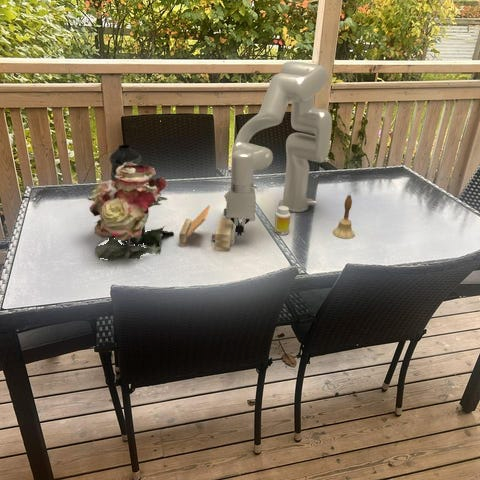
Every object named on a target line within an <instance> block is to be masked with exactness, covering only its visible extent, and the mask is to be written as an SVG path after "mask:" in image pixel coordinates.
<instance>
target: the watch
mask: <svg viewBox="0 0 480 480" xmlns="http://www.w3.org/2000/svg"><path fill="white" fill-rule="evenodd" d="M227 195H228V191H226V192H225V193H224V195H223V197H224V199H225V201H226V202H227ZM225 216H226V208H223V217H225Z"/></svg>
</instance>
